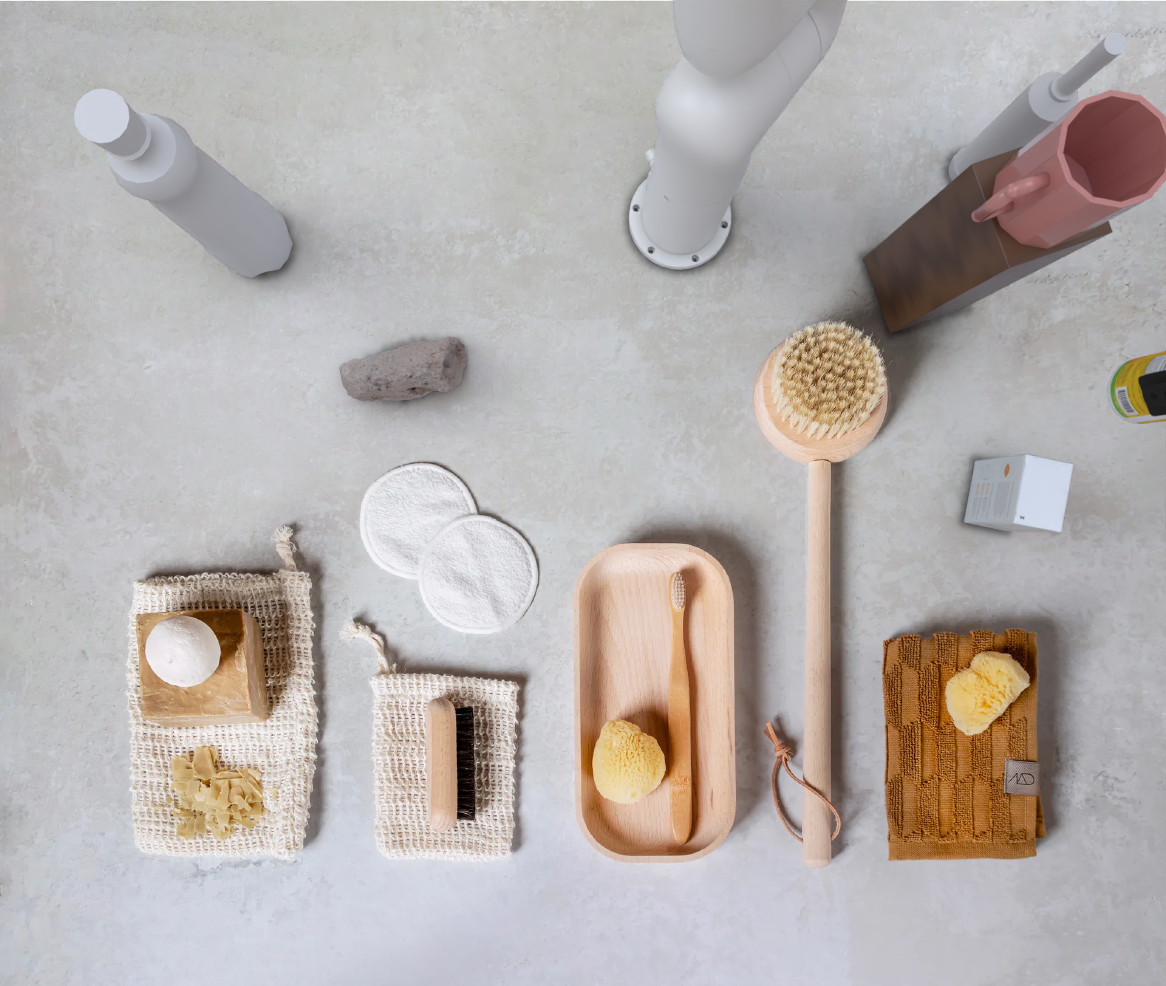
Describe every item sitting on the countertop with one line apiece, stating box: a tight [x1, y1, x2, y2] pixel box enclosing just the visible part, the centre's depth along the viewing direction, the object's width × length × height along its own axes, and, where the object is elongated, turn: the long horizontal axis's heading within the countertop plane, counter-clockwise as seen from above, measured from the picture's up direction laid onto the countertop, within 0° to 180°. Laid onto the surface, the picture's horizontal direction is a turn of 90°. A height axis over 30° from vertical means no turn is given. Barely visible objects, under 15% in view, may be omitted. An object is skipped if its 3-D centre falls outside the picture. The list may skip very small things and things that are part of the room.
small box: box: [963, 453, 1075, 534], centre depth 85 cm, size 8×6×10 cm
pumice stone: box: [339, 336, 468, 402], centre depth 85 cm, size 15×8×10 cm, turn 95°
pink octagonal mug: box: [971, 89, 1166, 249], centre depth 61 cm, size 9×12×9 cm
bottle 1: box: [73, 88, 294, 279], centre depth 75 cm, size 9×9×30 cm
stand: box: [862, 146, 1113, 334], centre depth 78 cm, size 10×10×25 cm
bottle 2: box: [947, 32, 1127, 182], centre depth 78 cm, size 5×5×25 cm
